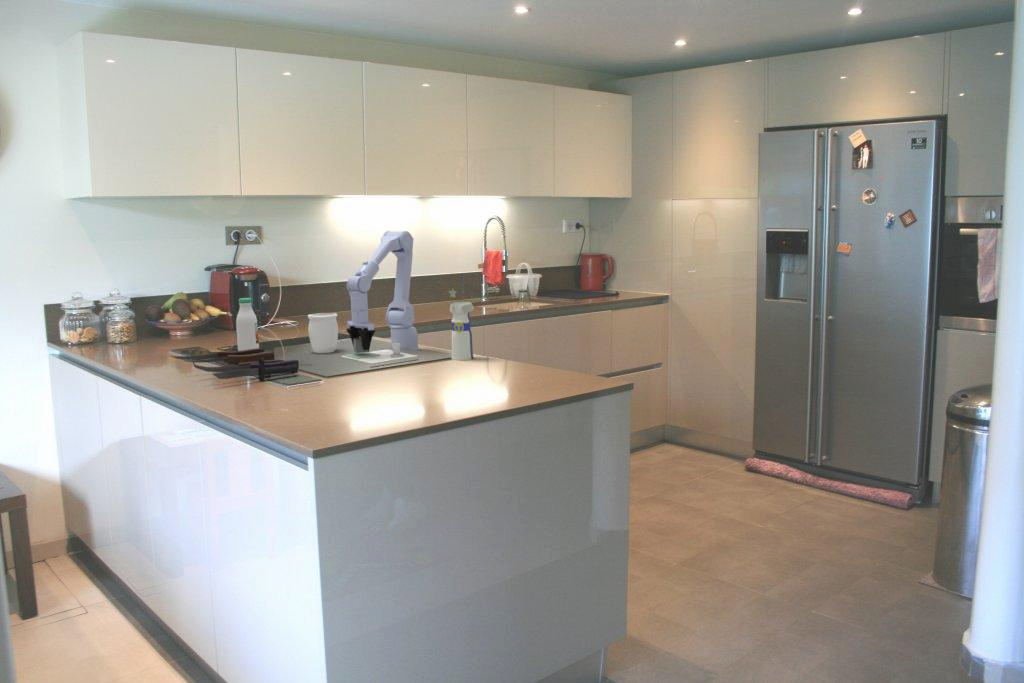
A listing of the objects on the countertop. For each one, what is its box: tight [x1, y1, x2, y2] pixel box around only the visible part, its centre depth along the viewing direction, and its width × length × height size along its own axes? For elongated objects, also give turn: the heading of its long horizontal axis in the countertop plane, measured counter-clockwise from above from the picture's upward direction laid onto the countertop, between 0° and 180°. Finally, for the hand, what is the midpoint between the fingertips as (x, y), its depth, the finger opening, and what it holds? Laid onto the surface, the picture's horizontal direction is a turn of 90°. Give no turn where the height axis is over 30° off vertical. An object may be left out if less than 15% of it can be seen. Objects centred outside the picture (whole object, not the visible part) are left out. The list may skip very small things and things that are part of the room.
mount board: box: [340, 343, 419, 369], centre depth 290 cm, size 19×20×6 cm
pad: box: [343, 351, 380, 359], centre depth 291 cm, size 9×9×1 cm
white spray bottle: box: [448, 288, 475, 361], centre depth 289 cm, size 8×9×25 cm
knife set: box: [170, 347, 300, 382], centre depth 271 cm, size 35×33×8 cm
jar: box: [307, 312, 339, 354], centre depth 302 cm, size 11×10×15 cm
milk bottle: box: [235, 297, 260, 351], centre depth 315 cm, size 8×8×20 cm
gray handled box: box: [352, 336, 370, 353], centre depth 291 cm, size 5×5×5 cm
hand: (361, 348), depth 291 cm, fingers closed on gray handled box, 6 cm apart
